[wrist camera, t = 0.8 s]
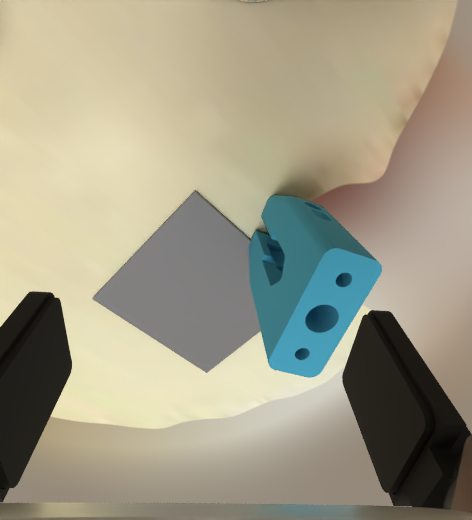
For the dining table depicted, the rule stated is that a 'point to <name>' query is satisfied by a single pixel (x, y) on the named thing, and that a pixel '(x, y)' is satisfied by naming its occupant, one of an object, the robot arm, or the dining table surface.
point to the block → (306, 283)
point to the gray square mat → (189, 286)
